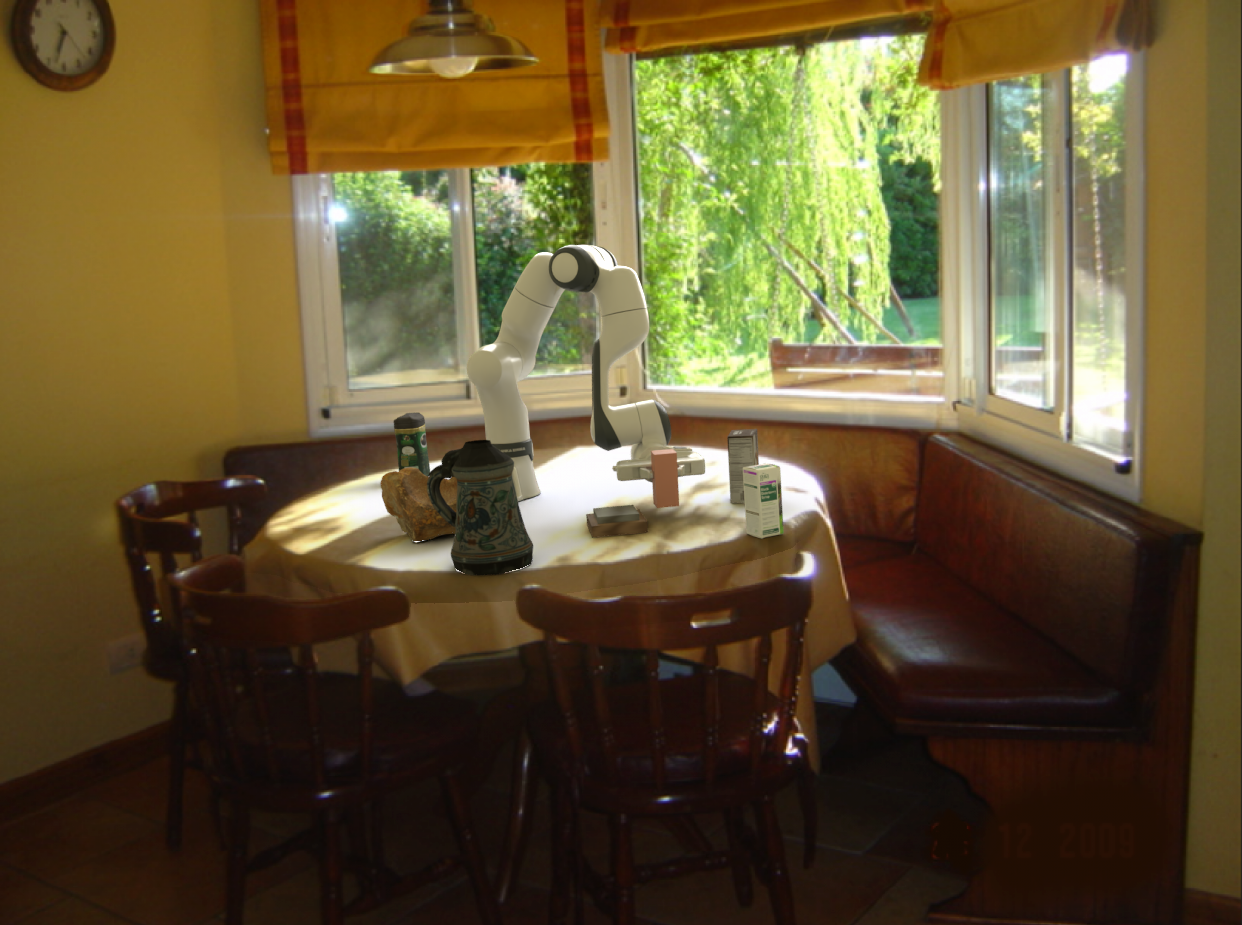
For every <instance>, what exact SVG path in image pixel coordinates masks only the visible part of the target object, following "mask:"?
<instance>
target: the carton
mask: <svg viewBox="0 0 1242 925" xmlns="http://www.w3.org/2000/svg"><path fill="white" fill-rule="evenodd" d="M651 466H652V470H653V471H654V479H652V482H651V483H652V498H653V501H652V503H653V505H654V506H655V508H656V509H661V508H674V507H680V493H679V492H680V491H679V477H678V469H677V453H676V452H675V451H674V450H673V449H667V450H654V451H651Z"/></svg>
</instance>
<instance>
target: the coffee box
mask: <svg viewBox="0 0 1242 925" xmlns="http://www.w3.org/2000/svg"><path fill="white" fill-rule="evenodd" d="M758 437H759V436H758V429H757V428H752V429H751V428H750V429H731V431H730V432H729V434H728V435H727V437H726V438H727V458H728V475H729V476H728V477H729V494H730V495H729V497H730V504H745V499H744V483H743V467H749V466H755V465H760V462H759V460H760V459H759V444H758V441H759V440H758Z"/></svg>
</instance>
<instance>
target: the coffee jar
mask: <svg viewBox="0 0 1242 925" xmlns="http://www.w3.org/2000/svg"><path fill="white" fill-rule="evenodd" d="M393 429H394V435H395V442H396V452H397V464H398V466H397V467H398V468H397V469H398V472H399V471H400V470H401V469H404V468H409V467H412V468H417V469H419V470H420V472H421V473H422V474H424V475H425V476H428V475H429V473H430V472H431V468H430V467H431V466H430V460H429V452H428V451H429V450H428V445H427V444H428V443H427V434H426V430H427V429H426V420H425V416H424V415H423V414H422V413H420V412H406V413H404V414H402V415H400V416H398V417H397V418H395V419H394V420H393ZM428 477H429V476H428Z"/></svg>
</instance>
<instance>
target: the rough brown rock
mask: <svg viewBox="0 0 1242 925" xmlns="http://www.w3.org/2000/svg"><path fill="white" fill-rule="evenodd" d="M428 478H429V476H425V475H424V474H422V473H421V472H420V470H419V469H417V468H412V467H409V468H404V469H401V470H400V471H399V470H398V471H397V470H394V471H390V472H387V473H385V474H383V476H381V480H380V482H379V483H380V488H381V498H382V501H383V504H384V507H385V509H386V512H387V513H388V514H390V515H391V516H393V517H395V519H396V522H397V524H398V525H399V527H400V529H401V531H402V532H403V531H404V532H403V533H405V532H407V533H408V534H407V533H406V534H407V535H408V536H409V538H410V540H411V541H412V540H413V541H422V540H428V541H430V540H432V539H435V538H437V537H440V536H444V535H451V534H453V535H455V530H456V528H455V527H453V526H452V525H450V524H449V523H448V522H447V521H446V520H445V519H444V518H443V517H442V516H441V515H440V514H439V513H438V512H437V511H436V509H435V508H434V507H433V505H432V503H431V501H430V499H429V496H428V492H427V481H428ZM440 493H441V495H442V497H443V498H444V500H445V501H446V503H447V504H448V505H449V506H450V507H451V508H452V509H453V510H454V511H455V512H456V505H457V479H456V478H455V477H451V478H444V479H443V480H442V481H441V484H440ZM429 539H430V540H429Z"/></svg>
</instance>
